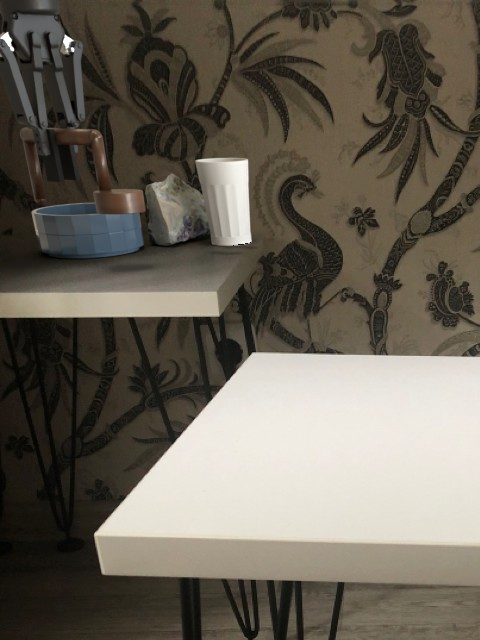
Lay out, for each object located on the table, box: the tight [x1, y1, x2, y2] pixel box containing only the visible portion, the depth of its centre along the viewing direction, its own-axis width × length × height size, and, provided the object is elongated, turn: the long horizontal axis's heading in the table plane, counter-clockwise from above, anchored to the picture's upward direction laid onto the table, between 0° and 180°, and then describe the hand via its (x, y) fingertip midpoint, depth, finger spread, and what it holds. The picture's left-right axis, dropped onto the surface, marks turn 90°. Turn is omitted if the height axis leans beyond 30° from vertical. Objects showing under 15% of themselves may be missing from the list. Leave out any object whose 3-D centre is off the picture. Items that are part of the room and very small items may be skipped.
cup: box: [194, 157, 253, 247], centre depth 144 cm, size 8×8×12 cm
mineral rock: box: [144, 172, 210, 247], centre depth 147 cm, size 13×11×10 cm
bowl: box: [31, 202, 145, 259], centre depth 140 cm, size 15×15×6 cm
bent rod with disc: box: [19, 126, 147, 215], centre depth 126 cm, size 21×6×10 cm, turn 58°
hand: (64, 180), depth 128 cm, fingers closed on bent rod with disc, 2 cm apart
